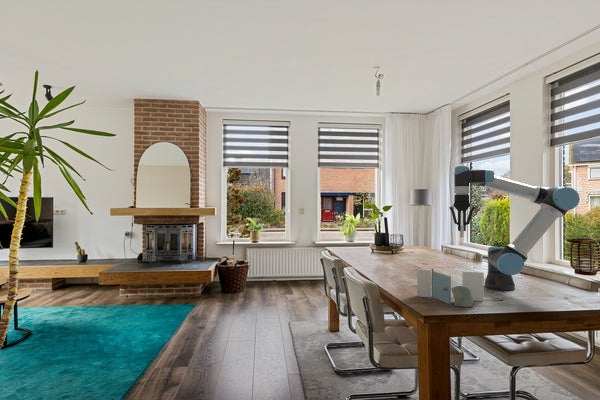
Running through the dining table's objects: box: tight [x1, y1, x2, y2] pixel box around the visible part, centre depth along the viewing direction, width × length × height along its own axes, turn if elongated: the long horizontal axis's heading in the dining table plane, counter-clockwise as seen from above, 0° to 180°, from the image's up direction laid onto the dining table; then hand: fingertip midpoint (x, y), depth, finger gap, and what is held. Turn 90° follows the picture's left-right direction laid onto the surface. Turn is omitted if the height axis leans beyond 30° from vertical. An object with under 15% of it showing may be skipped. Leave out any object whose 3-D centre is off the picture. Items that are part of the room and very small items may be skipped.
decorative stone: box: [451, 285, 474, 308], centre depth 165 cm, size 13×11×10 cm
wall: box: [416, 268, 485, 302], centre depth 176 cm, size 31×1×14 cm, turn 74°
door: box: [432, 270, 452, 305], centre depth 171 cm, size 12×3×13 cm, turn 14°
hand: (461, 237), depth 191 cm, fingers closed
